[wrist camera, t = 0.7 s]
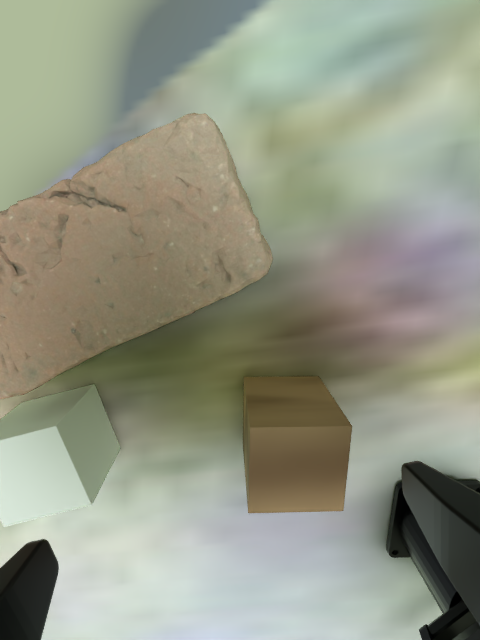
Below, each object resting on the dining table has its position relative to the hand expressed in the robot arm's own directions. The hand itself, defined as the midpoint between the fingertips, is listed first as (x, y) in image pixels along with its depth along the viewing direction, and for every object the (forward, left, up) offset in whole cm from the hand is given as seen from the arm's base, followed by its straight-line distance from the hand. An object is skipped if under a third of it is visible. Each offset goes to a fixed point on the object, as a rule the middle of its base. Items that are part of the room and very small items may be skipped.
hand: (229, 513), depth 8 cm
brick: (+5, +6, -14) cm, 16 cm away
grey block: (-6, +10, -13) cm, 18 cm away
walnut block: (-5, -4, -13) cm, 14 cm away
